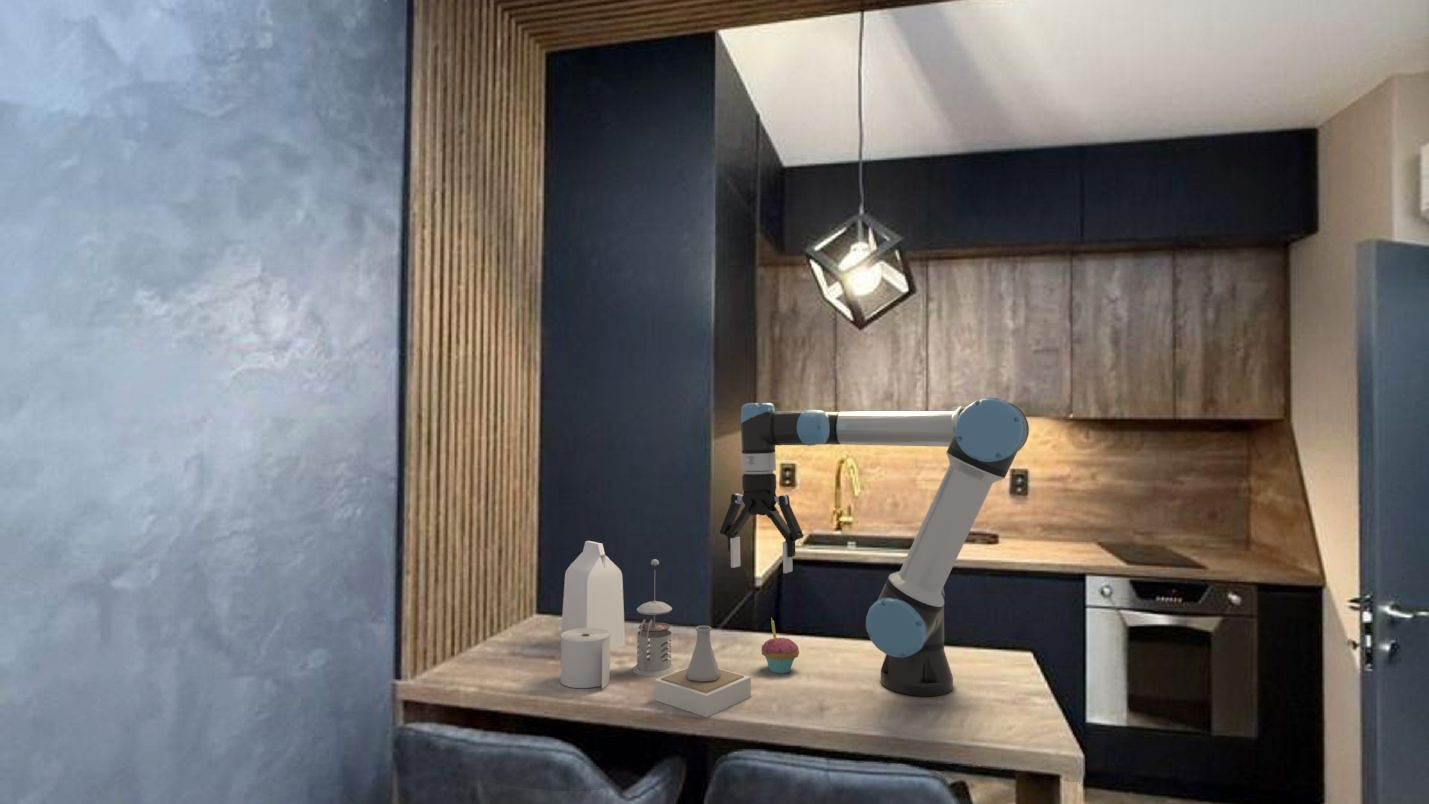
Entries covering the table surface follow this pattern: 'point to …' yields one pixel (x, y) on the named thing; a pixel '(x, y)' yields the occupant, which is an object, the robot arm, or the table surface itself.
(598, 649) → the toilet tissue
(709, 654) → the flask
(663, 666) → the french press
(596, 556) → the milk
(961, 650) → the table surface
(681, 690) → the pedestal
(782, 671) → the cupcake
